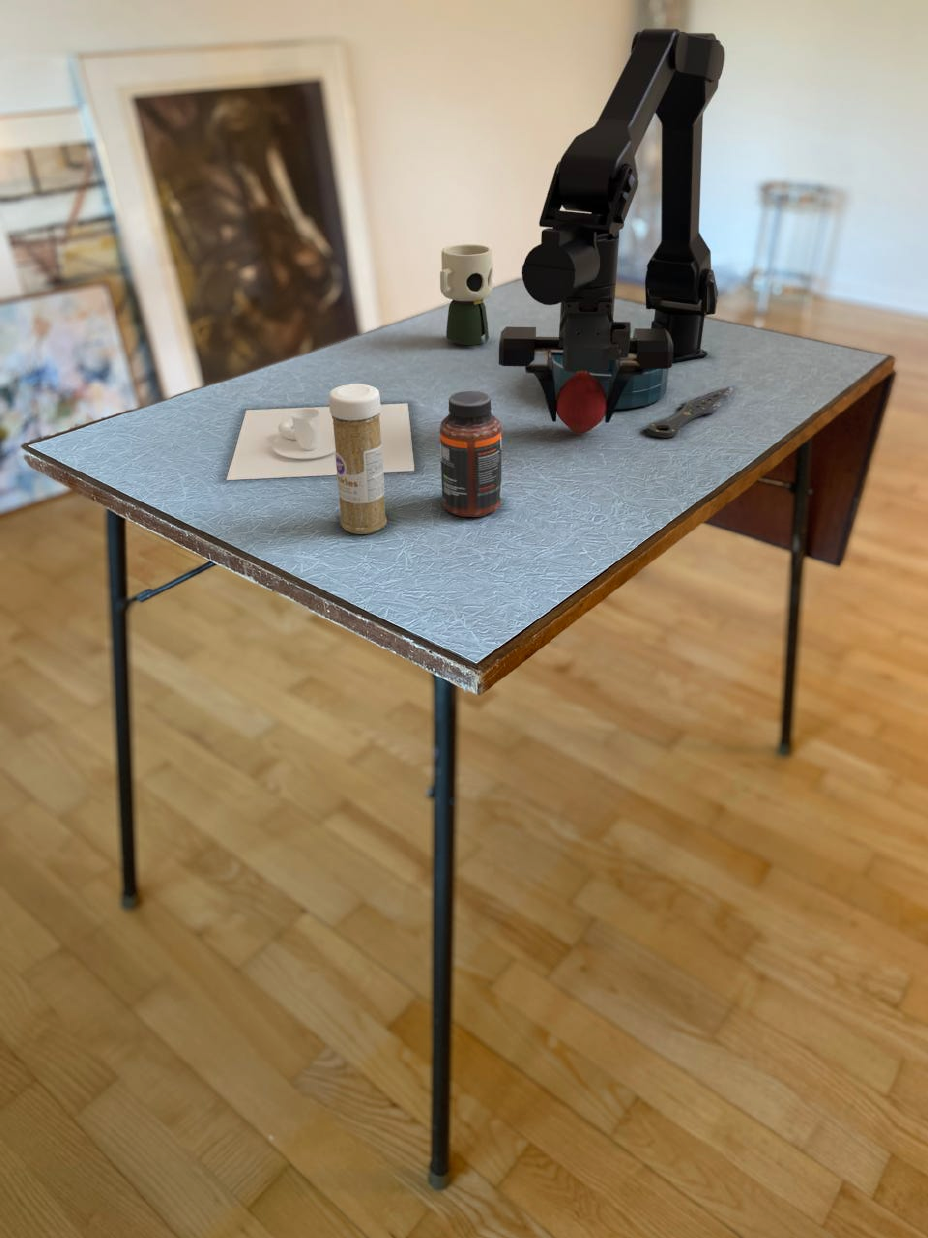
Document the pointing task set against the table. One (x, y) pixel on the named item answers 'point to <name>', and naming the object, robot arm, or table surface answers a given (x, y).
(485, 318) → the character mug
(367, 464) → the sprinkles bottle
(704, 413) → the throwing knife
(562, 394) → the onion
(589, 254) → the robot arm
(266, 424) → the teacup and saucer
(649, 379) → the bowl
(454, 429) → the supplement bottle
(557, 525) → the table surface
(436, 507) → the table surface
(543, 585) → the table surface
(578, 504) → the table surface
